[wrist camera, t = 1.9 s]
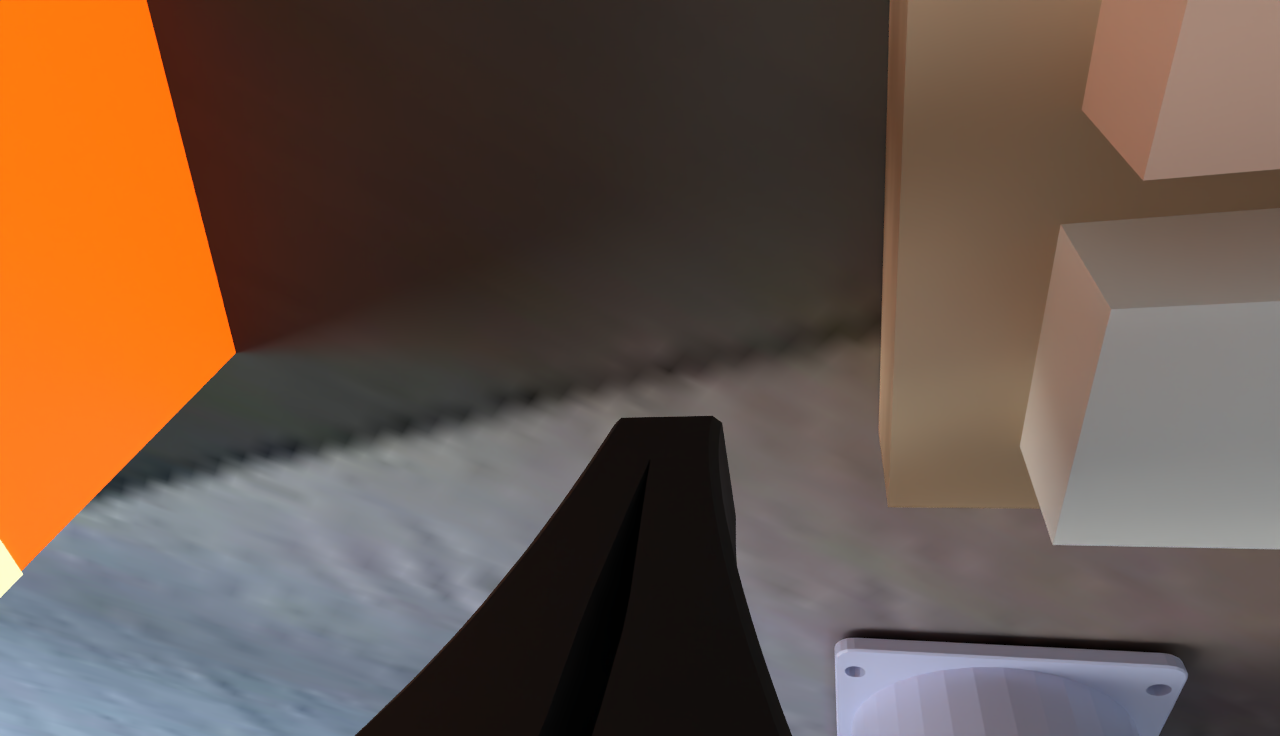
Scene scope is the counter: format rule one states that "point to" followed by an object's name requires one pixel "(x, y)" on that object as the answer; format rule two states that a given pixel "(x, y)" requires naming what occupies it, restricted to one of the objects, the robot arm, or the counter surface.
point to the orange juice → (91, 262)
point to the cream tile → (1160, 384)
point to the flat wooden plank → (992, 230)
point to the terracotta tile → (1188, 85)
